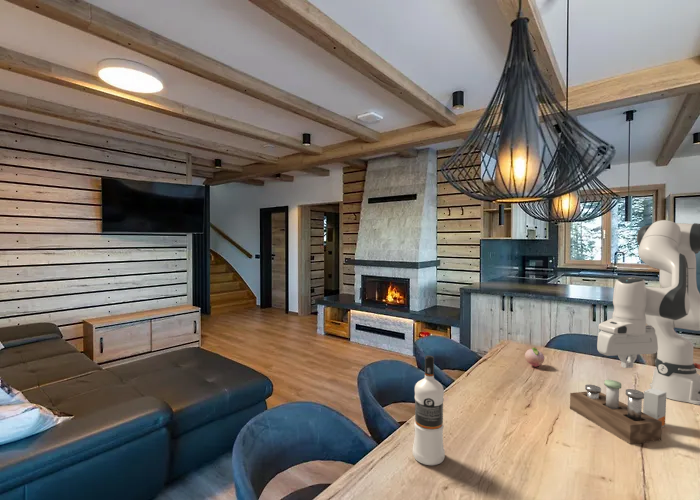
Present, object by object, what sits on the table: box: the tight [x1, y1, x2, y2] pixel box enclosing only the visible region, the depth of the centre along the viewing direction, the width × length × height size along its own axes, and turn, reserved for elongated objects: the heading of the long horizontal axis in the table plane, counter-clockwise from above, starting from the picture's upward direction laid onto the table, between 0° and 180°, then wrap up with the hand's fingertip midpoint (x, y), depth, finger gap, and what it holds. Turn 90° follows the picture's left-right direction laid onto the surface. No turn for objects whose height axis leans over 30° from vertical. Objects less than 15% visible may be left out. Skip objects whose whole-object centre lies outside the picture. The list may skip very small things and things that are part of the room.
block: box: [569, 391, 663, 445], centre depth 126 cm, size 12×24×6 cm, turn 11°
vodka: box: [412, 355, 446, 466], centre depth 106 cm, size 9×9×30 cm
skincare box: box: [642, 387, 667, 428], centre depth 124 cm, size 6×4×12 cm
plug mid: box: [603, 379, 622, 410], centre depth 126 cm, size 5×5×9 cm
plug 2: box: [625, 388, 644, 421], centre depth 118 cm, size 5×5×9 cm
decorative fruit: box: [524, 347, 545, 368], centre depth 181 cm, size 9×8×10 cm
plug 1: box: [584, 384, 602, 399], centre depth 134 cm, size 5×5×9 cm
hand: (627, 367), depth 120 cm, fingers closed
